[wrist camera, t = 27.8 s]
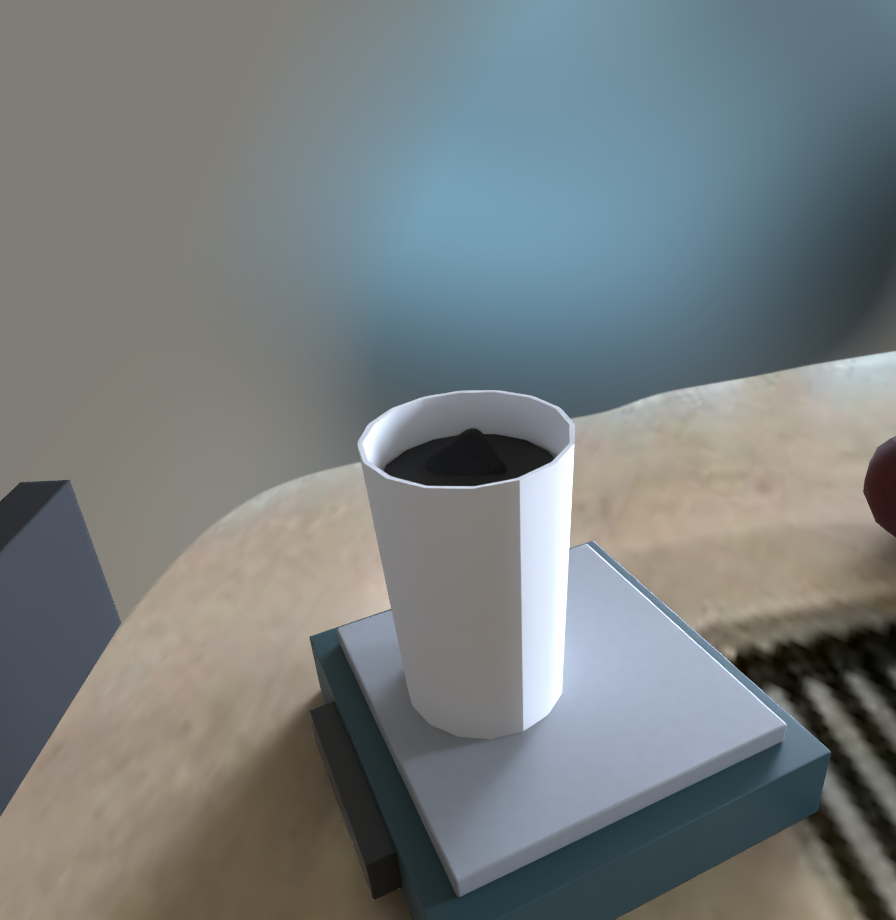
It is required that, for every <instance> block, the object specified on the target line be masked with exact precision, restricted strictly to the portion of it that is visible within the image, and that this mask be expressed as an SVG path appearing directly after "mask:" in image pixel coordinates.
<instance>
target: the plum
mask: <svg viewBox="0 0 896 920" xmlns="http://www.w3.org/2000/svg"><path fill="white" fill-rule="evenodd" d="M863 492H864V495H865V497H866V499H867V502H868V504H869V506H870V509H871V511H872V514H873V516H874V518H875V521H876V522H877V523H878V524H879V525H880V526H882V527H883V528H884V529H885V530H886V531H888V532H889V533H891V534H892V535H893V536H895V537H896V436H895V437H893V438H891V439H889V440H888V441H886V442H885V443H883V444H882V445H880V446H879V447H878V448H877V450H876V452H875V453H874V455H873V457H872V459H871V461H870V463H869V467H868V470H867V474H866V477H865V482H864V491H863Z"/></svg>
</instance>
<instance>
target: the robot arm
mask: <svg viewBox="0 0 896 920" xmlns="http://www.w3.org/2000/svg"><path fill="white" fill-rule="evenodd" d="M120 624H121V621H120V618H119V615H118V613H117V610H116V607H115V604H114V601H113V599H112V596H111V593H110V590H109V588H108V585H107V582H106V579H105V577H104V574H103V571H102V568H101V565H100V563H99V560H98V557H97V555H96V552H95V549H94V546H93V544H92V541H91V538H90V535H89V532H88V529H87V527H86V524H85V521H84V518H83V516H82V513H81V510H80V508H79V505H78V502H77V499H76V497H75V493H74V491H73V488H72V485H71V482H70V480H61V481H40V482H39V481H38V482H21V483H19V484H18V485H17V486H16V487H15V488H14V489H13V490H12V491H11V492H10V493H9V494H8V495H7V496H6V497H5V498H3V499H2V500H1V501H0V816H1V815H2V813H3V811H4V810H5V808H6V807H7V805H8V803H9V802H10V800H11V799H12V797H13V795H14V794H15V792H16V791H17V789H18V787H19V786H20V784H21V783H22V781H23V779H24V778H25V776H26V774H27V773H28V771H29V770H30V768H31V766H32V765H33V763H34V762H35V760H36V758H37V757H38V755H39V754H40V752H41V750H42V749H43V747H44V746H45V744H46V742H47V741H48V739H49V738H50V736H51V734H52V733H53V731H54V730H55V728H56V726H57V725H58V723H59V722H60V720H61V718H62V717H63V715H64V714H65V712H66V710H67V709H68V707H69V706H70V704H71V702H72V701H73V699H74V698H75V696H76V694H77V693H78V691H79V690H80V688H81V686H82V685H83V683H84V682H85V680H86V678H87V677H88V675H89V674H90V672H91V670H92V669H93V667H94V666H95V664H96V662H97V661H98V659H99V658H100V656H101V654H102V653H103V651H104V650H105V648H106V646H107V645H108V643H109V642H110V640H111V638H112V637H113V635H114V634H115V632H116V630H117V629H118V627H119V626H120Z"/></svg>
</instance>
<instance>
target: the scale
mask: <svg viewBox="0 0 896 920" xmlns="http://www.w3.org/2000/svg"><path fill="white" fill-rule="evenodd" d="M310 642H311V646H312V651H313V655H314V660H315V665H316V669H317V674H318V678H319V683H320V688H321V691H322V693H323V696H324V698H325V701H326V703H327V704H325V705H323V706H320V707H317V708H315V709H312V710H310V711H309V713H310V717H311V721H312V726H313V730H314V734H315V739H316V743H317V746H318V749H319V751H320V754H321V757H322V760H323V762H324V765H325V768H326V771H327V774H328V776H329V779H330V782H331V785H332V787H333V790H334V793H335V796H336V799H337V801H338V804H339V807H340V810H341V813H342V815H343V818H344V821H345V824H346V826H347V829H348V832H349V835H350V838H351V840H352V843H353V846H354V849H355V852H356V854H357V857H358V860H359V863H360V865H361V868H362V871H363V874H364V877H365V879H366V882H367V885H368V888H369V890H370V893H371V896H372V899H373V900H375V899H377V898H379V897H381V896H384V895H386V894H388V893H390V892H392V891H394V890H396V889H399V888H400V889H401V891H402V894H403V896H404V899H405V901H406V904H407V906H408V909H409V911H410V914H411V916H412V919H413V920H614V919H616V918H618V917H620V916H622V915H624V914H626V913H627V912H629V911H631V910H633V909H635V908H637V907H639V906H641V905H643V904H644V903H646V902H648V901H650V900H652V899H654V898H656V897H658V896H659V895H661V894H663V893H665V892H667V891H669V890H671V889H673V888H674V887H676V886H678V885H680V884H682V883H684V882H686V881H688V880H689V879H691V878H693V877H695V876H697V875H699V874H701V873H703V872H705V871H706V870H708V869H710V868H712V867H714V866H716V865H718V864H720V863H721V862H723V861H725V860H727V859H729V858H731V857H733V856H735V855H736V854H738V853H740V852H742V851H744V850H746V849H748V848H750V847H752V846H753V845H755V844H757V843H759V842H761V841H763V840H765V839H767V838H768V837H770V836H772V835H774V834H776V833H778V832H780V831H782V830H783V829H785V828H787V827H789V826H791V825H793V824H795V823H797V822H798V821H800V820H802V819H804V818H806V817H808V816H810V815H812V814H814V813H815V812H817V811H818V807H819V802H820V798H821V794H822V789H823V785H824V780H825V776H826V772H827V767H828V763H829V759H830V754H831V751H830V750H829V749H827V748H826V747H825V746H824V745H823V744H822V743H821V742H820V741H818V740H817V739H816V738H815V737H814V736H813V735H812V734H811V733H809V732H808V731H807V730H806V729H805V728H804V727H803V726H802V725H800V724H799V723H798V722H797V721H796V720H795V719H794V718H792V717H791V716H790V715H789V714H788V713H787V712H786V711H785V710H783V709H782V708H781V707H780V706H779V705H778V704H777V703H776V702H774V701H773V700H772V699H771V698H770V697H769V696H768V695H767V694H765V693H764V692H763V691H762V690H761V689H760V688H759V687H757V686H756V685H755V684H754V683H753V682H752V681H751V680H750V679H748V678H747V677H746V676H745V675H744V674H743V673H742V672H741V671H739V670H738V669H737V668H736V667H735V666H734V665H733V664H732V663H730V662H729V661H728V660H727V659H726V658H725V657H724V656H723V655H721V654H720V653H719V652H718V651H717V650H716V649H715V648H713V647H712V646H711V645H710V644H709V643H708V642H707V641H706V640H704V639H703V638H702V637H701V636H700V635H699V634H698V633H697V632H695V631H694V630H693V629H692V628H691V627H690V626H689V625H688V624H686V623H685V622H684V621H683V620H682V619H681V618H680V617H679V616H677V615H676V614H675V613H674V612H673V611H672V610H671V609H669V608H668V607H667V606H666V605H665V604H664V603H663V602H662V601H660V600H659V599H658V598H657V597H656V596H655V595H654V594H653V593H651V592H650V591H649V590H648V589H647V588H646V587H645V586H644V585H642V584H641V583H640V582H639V581H638V580H637V579H636V578H634V577H633V576H632V575H631V574H630V573H629V572H628V571H627V570H625V569H624V568H623V567H622V566H621V565H620V564H619V563H618V562H616V561H615V560H614V559H613V558H612V557H611V556H610V555H609V554H607V553H606V552H605V551H604V550H603V549H602V548H601V547H600V546H598V545H597V544H596V543H595V542H594V541H590V542H588V543H585V544H582V545H579V546H576V547H573V548H570V549H569V561H568V581H567V601H566V621H565V641H564V661H563V683H562V694H561V695H560V697H559V699H558V700H557V702H556V703H555V705H554V707H553V708H552V710H551V711H550V713H549V715H547V716H546V717H544V718H543V719H541V720H540V721H538V722H537V723H535V724H534V725H532V726H531V727H529V728H528V729H526V730H525V731H523V732H519V733H515V734H511V735H507V736H503V737H499V738H495V739H480V738H467V737H457V736H455V735H453V734H450V733H448V732H446V731H443V730H441V729H439V728H437V727H434V726H432V725H430V724H429V723H428V722H427V721H426V720H425V719H424V718H423V717H422V716H421V715H420V713H419V712H418V711H417V710H416V709H415V708H414V707H413V706H412V703H411V700H410V696H409V692H408V688H407V684H406V678H405V673H404V668H403V664H402V659H401V654H400V649H399V644H398V639H397V634H396V629H395V624H394V620H393V615H392V610H391V609H390V610H387V611H384V612H381V613H378V614H375V615H372V616H369V617H366V618H363V619H360V620H357V621H354V622H351V623H349V624H346V625H343V626H340V627H337V628H334V629H331V630H328V631H325V632H322V633H319V634H316V635H313V636H310Z"/></svg>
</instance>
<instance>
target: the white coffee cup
mask: <svg viewBox="0 0 896 920" xmlns="http://www.w3.org/2000/svg"><path fill="white" fill-rule="evenodd" d="M574 440H575V423H574V422H573V421H572V420H571V419H570V418H569V417H568V416H567V415H566V414H565V413H564V412H563V410H562V409H561V408H560V407H557V406H555V405H553V404H550V403H548V402H546V401H543V400H541V399H539V398H536V397H534V396H530V395H524V394H517V393H511V392H505V391H499V390H491V391H490V390H486V391H485V390H483V391H456V392H450V393H444V394H438V395H433V396H426V397H422V398H419V399H416V400H414V401H411V402H408V403H405V404H402V405H400V406H397V407H394V408H392V409H390V410H388V411H387V412H385V413H384V414H382V415H381V416H380V417H378V418H377V419H375V420H374V421H372V422H371V423H369V424H368V425H367V427H366V429H365V430H364V432H363V434H362V436H361V437H360V439H359V441H358V448H359V453H360V458H361V463H362V468H363V473H364V478H365V483H366V488H367V493H368V497H369V502H370V507H371V512H372V517H373V522H374V527H375V532H376V537H377V541H378V546H379V551H380V556H381V561H382V566H383V571H384V576H385V581H386V585H387V590H388V595H389V600H390V605H391V610H392V615H393V620H394V624H395V629H396V634H397V639H398V644H399V649H400V654H401V659H402V664H403V668H404V673H405V678H406V684H407V688H408V692H409V696H410V700H411V703H412V706H413V707H414V708H415V709H416V710H417V711H418V712H419V713H420V715H421V716H422V717H423V718H424V719H425V720H426V721H427V722H428V723H429V724H430V725H432V726H434V727H437V728H439V729H441V730H443V731H446V732H448V733H450V734H453V735H455V736H457V737H467V738H480V739H495V738H499V737H503V736H507V735H511V734H515V733H519V732H523V731H525V730H526V729H528V728H529V727H531V726H532V725H534V724H535V723H537V722H538V721H540V720H541V719H543V718H544V717H546V716H547V715H549V713H550V711H551V710H552V708H553V707H554V705H555V703H556V702H557V700H558V699H559V697H560V695H561V694H562V683H563V661H564V641H565V621H566V601H567V581H568V561H569V541H570V521H571V501H572V481H573V461H574Z"/></svg>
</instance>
